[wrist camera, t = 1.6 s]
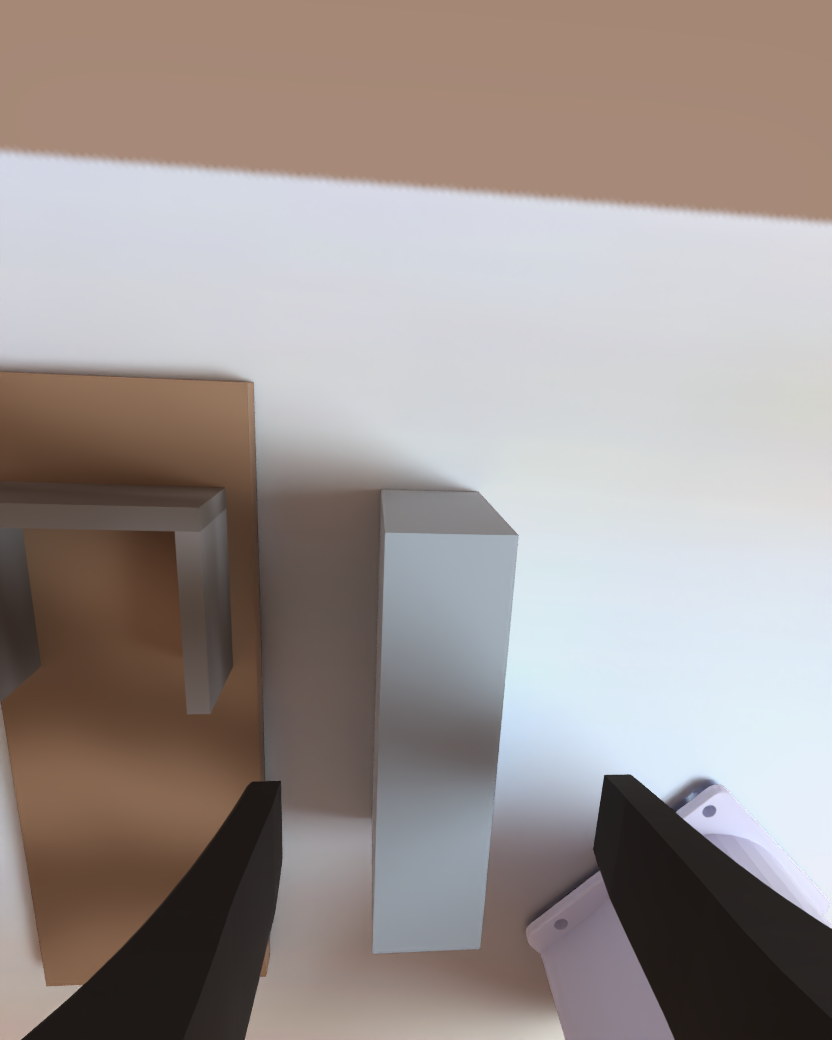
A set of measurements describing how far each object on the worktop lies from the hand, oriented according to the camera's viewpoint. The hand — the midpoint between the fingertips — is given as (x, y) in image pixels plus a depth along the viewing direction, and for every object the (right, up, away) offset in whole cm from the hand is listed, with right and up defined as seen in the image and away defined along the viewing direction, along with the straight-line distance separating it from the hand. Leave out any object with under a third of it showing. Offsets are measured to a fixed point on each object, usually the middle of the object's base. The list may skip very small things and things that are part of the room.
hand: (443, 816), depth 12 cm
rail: (0, +2, +7) cm, 7 cm away
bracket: (-9, 0, +6) cm, 11 cm away
